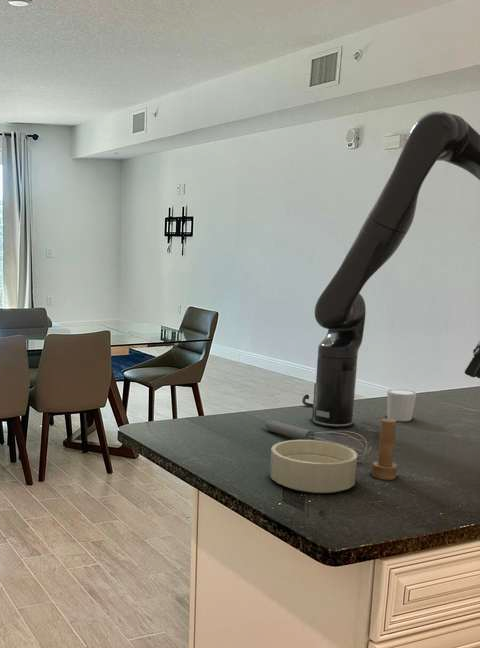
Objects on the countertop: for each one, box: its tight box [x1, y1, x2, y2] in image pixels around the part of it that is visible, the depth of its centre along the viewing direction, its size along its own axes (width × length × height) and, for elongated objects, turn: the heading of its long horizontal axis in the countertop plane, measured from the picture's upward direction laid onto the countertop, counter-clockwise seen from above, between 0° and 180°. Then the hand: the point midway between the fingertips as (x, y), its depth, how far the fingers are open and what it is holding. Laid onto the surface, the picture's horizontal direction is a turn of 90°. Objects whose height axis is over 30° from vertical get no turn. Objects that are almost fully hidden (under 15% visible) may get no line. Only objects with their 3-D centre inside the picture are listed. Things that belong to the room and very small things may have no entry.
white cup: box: [386, 389, 417, 422], centre depth 180 cm, size 7×7×7 cm
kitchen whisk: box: [263, 419, 372, 463], centre depth 157 cm, size 6×34×6 cm, turn 22°
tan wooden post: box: [371, 418, 398, 481], centre depth 137 cm, size 4×4×11 cm
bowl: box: [269, 439, 359, 494], centre depth 135 cm, size 16×16×6 cm
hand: (474, 376), depth 137 cm, fingers open, 8 cm apart
